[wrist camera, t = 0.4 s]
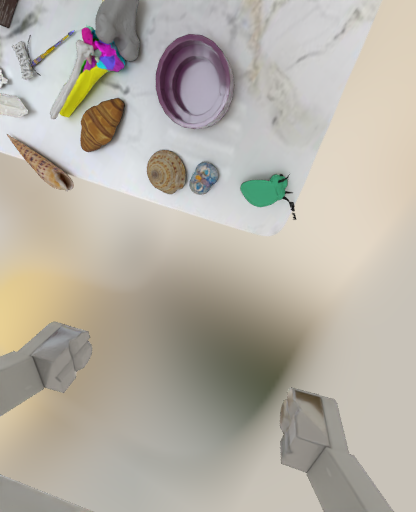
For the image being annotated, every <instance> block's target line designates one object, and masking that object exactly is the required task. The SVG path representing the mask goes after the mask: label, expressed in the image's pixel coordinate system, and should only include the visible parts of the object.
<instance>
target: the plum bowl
mask: <svg viewBox="0 0 416 512" xmlns="http://www.w3.org/2000/svg"><path fill="white" fill-rule="evenodd" d="M156 91H157V95H158V99H159V102H160V104H161V106H162V108H163V110H164V112H165V113H166V115H167V116H168V117H169V118H170V119H171V120H172V121H173V122H175V123H177V124H179V125H180V126H182V127H186V128H193V129H202V128H206V127H210V126H212V125H214V124H215V123H217V122H218V121H220V120H221V118H222V117H223V116H224V115H225V113H226V112H227V111H228V109H229V106H230V104H231V101H232V98H233V91H234V79H233V72H232V69H231V67H230V65H229V62H228V60H227V58H226V57H225V55H224V53H223V52H222V51H221V49H220V48H219V47H218V46H217V45H216V44H215V43H214V42H213V41H212V40H210V39H208V38H206V37H204V36H202V35H194V34H188V35H185V36H182V37H180V38H177V39H176V40H175V41H174V42H172V43H171V44H170V45H169V46H168V47H167V48H166V50H165V51H164V53H163V55H162V57H161V58H160V60H159V64H158V68H157V72H156Z"/></svg>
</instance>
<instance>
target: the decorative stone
mask: <svg viewBox="0 0 416 512" xmlns="http://www.w3.org/2000/svg"><path fill="white" fill-rule="evenodd" d="M217 179H218V172H217V170H216V168H215V167H214V166H213V165H212V164H211V163H208V162H202V163H200V164H199V165H198V166H197V168H196V170H195V172H194V174H193V176H192V177H191V180H190V188H191V190H192V191H193V192H194V193H196V194H200V195H202V194H205V193H207V192H208V191H209V189H210V188H211V186H212V185H213V184H215V183H216V181H217Z"/></svg>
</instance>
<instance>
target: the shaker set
mask: <svg viewBox="0 0 416 512" xmlns="http://www.w3.org/2000/svg"><path fill="white" fill-rule="evenodd" d="M1 79H2V81H0V88H1V86H2V84H3V83H4V84H6V83H7V82H8V79H7V78H4V77H3V75H2V70H1V69H0V80H1ZM7 85H8V84H7ZM0 114H2V115H7V116H13V117H18V118H20V117H22V116H23V115H24V114H26V115H27V114H28V110H27V109H26V108H25V106H24V105H23V104H22V102H21V100H20V99H19V98H17V96H11V95H6V94H2V93H0Z"/></svg>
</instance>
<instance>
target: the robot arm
mask: <svg viewBox="0 0 416 512" xmlns="http://www.w3.org/2000/svg"><path fill="white" fill-rule="evenodd" d="M89 338H90V335H89V332H88V331H85V330H81V329H78V328H75V327H71V326H68V325H65V324H61V323H58V322H52V323H50V324H48V325H47V326H46V327H45V328H44V329H43V330H42V331H40V332H39V333H38V334H37V335H36V336H35V337H34V338H33V339H31V341H29V342H28V343H27V344H26V345H25V346H23V347H22V348H21V349H20V350H19V351H18V352H15V351H13V352H11V353H8V354H6V355H3V356H1V357H0V416H1V415H3V414H5V413H6V412H8V411H10V410H11V409H13V408H14V407H16V406H17V405H19V404H21V403H22V402H24V401H25V400H27V399H28V398H30V397H32V396H33V395H35V394H36V393H38V392H40V391H41V390H43V389H44V387H45V388H48V389H52V390H56V391H59V392H62V393H64V392H65V391H66V390H67V388H68V387H69V386H70V384H71V383H72V382H73V381H74V379H75V378H76V372H77V371H78V370H80V369H82V368H84V367H85V365H86V364H87V363H88V361H89V359H90V356H91V354H92V345H91V344H90V343H89V341H88V339H89ZM280 428H281V430H282V432H283V434H284V435H283V437H282V439H281V441H280V445H281V464H283V465H286V466H289V467H292V468H295V469H298V470H301V471H303V472H306V473H307V476H308V478H309V481H310V483H311V485H312V487H313V489H314V491H315V494H316V496H317V498H318V500H319V502H320V504H321V506H322V508H323V510H324V512H394V511H393V510H392V508H391V507H390V506H389V504H388V503H387V501H386V500H385V499H384V497H383V496H382V494H381V493H380V491H379V490H378V489H377V487H376V486H375V484H374V483H373V482H372V480H371V479H370V477H369V476H368V475H367V473H366V472H365V470H364V469H363V467H362V466H361V465H360V463H359V462H358V461H357V459H356V458H355V456H353V455H351V454H349V451H348V447H347V443H346V439H345V434H344V430H343V426H342V422H341V418H340V414H339V409H338V405H337V402H336V401H335V400H334V399H332V398H328V397H324V396H320V395H318V394H315V393H311V392H307V391H303V390H299V389H295V388H292V387H291V388H289V390H288V392H287V399H285V400H284V401H283V404H282V407H281V412H280ZM0 512H93V511H90V510H88V509H86V508H83V507H81V506H78V505H76V504H73V503H71V502H68V501H66V500H63V499H60V498H58V497H55V496H53V495H50V494H48V493H46V492H43V491H41V490H38V489H35V488H33V487H31V486H28V485H26V484H23V483H21V482H18V481H15V480H13V479H10V478H8V477H5V476H3V475H0Z"/></svg>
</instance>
